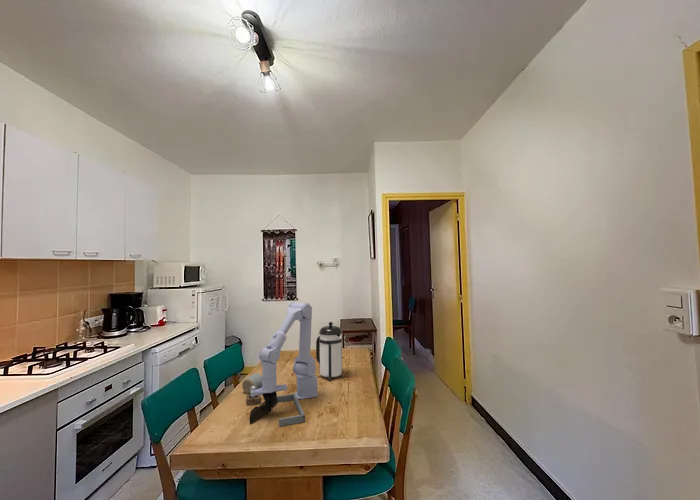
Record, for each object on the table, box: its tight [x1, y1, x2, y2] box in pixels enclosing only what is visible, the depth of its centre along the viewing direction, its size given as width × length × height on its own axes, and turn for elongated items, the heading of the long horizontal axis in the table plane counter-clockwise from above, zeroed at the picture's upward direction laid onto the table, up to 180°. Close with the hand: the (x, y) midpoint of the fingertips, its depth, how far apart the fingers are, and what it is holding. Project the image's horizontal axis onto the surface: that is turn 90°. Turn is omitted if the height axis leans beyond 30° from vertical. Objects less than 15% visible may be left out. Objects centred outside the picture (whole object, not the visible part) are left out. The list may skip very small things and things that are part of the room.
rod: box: [249, 385, 256, 398], centre depth 144 cm, size 3×3×7 cm
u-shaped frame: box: [277, 393, 306, 427], centre depth 134 cm, size 10×23×2 cm, turn 20°
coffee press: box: [315, 321, 345, 382], centre depth 177 cm, size 17×16×30 cm
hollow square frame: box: [245, 393, 262, 407], centre depth 144 cm, size 6×6×2 cm
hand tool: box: [249, 397, 278, 424], centre depth 133 cm, size 19×4×5 cm, turn 163°
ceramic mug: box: [241, 372, 262, 394], centre depth 156 cm, size 11×8×8 cm
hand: (269, 410), depth 131 cm, fingers closed
